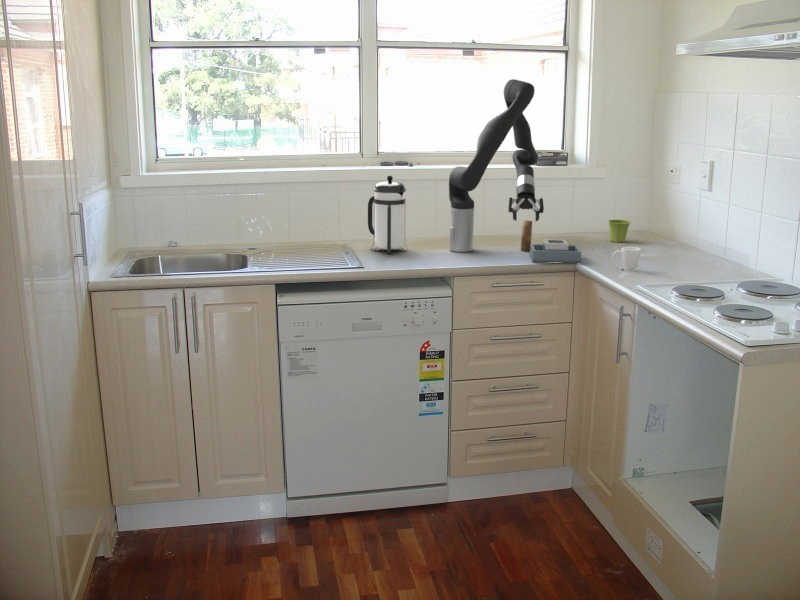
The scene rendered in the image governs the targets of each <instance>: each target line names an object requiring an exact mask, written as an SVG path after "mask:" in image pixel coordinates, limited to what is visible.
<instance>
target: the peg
mask: <svg viewBox="0 0 800 600" xmlns="http://www.w3.org/2000/svg"><path fill="white" fill-rule="evenodd" d="M532 234H533V221H532V220H522V221H521V237H520V238H521V239H520V251H521V252H525V253H526V252H527V253H528V252H529V253H530V244H532Z"/></svg>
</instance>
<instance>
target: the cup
mask: <svg viewBox="0 0 800 600" xmlns="http://www.w3.org/2000/svg"><path fill="white" fill-rule="evenodd" d="M618 252H619V253H621V263H622V266H623V268H621V267H620V266H619V265H617V264H616V263H615V262H614V259H613V258H614V255H615V254H616V253H618ZM641 253H642V248H640V247H636V246H623V247H621V250H620V249H617V250H616V251H614V252H613V253H612V255H611V256H612V257H611V262H612V264H613V265H614V266H615V267H616V268H618V269H620V270H621V269H624V270H623V271H625V270H628V271H627V272H636V271H637V269H636V268H637V266H638V264H639V261H640V256H641ZM635 270H636V271H635Z"/></svg>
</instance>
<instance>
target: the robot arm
mask: <svg viewBox="0 0 800 600" xmlns="http://www.w3.org/2000/svg"><path fill="white" fill-rule="evenodd" d="M535 91H536V90H535V86H534V85H533V84H532V83H530V82H527V81H524V80H519V79H514V78H513V79H510V80H508V81H507V82H506V83H505V85H504V87H503V98H504V102H505V105H506V108H507V109H506V110H505V111H503V112H502V113H500V114H498V115H496V116H495V117H493V118H492V119H490V120H489V121H488V122H487V123H486V125H485V126H484V128H483V129H482V131H481V132H480V134H479V136H478V138H477V145H476V152H475V155H474V157H473V159H472V160H471V162H470V163H469V164H468V166H467V167H466V166H456V167H454V168H452V170H451V171H450V174H449V177H448V199H449V201H450V228H449V229H450V230H449V251H450V252H457V253H458V252H459V253H465V252H466V253H467V252H472V251H473V249H474V224H475V223H474V222H475V221H474V220H475V219H474V218H475V201H474V200H473V199H472V197H471V196H470V194H469V192H472V191H474V190H475V189H476V188H477V187H478V186H479V184H480V182H481V180H482V178H483V176H484V174H485V172H486V170H487V168H488V166H489V164H490V163H491V161H492V160H493V157H494V156H495V154H496V152H497V151H498V149H500V148H501V145H502V144H503V142H504V141H505V139H506V137H507V136H508V134H509V132H510V131H511V129H512V130H513V139H514V145H515V147H516V148H518V149H516V150H515V151H514V152H513V154H512V156H511V157H512V158H511V159H512V161H513V164H514V167H515V169H516V187H515V189H516V198H513V197H509V199H508V213H512V220H513V221H515V222H517V218H518V216H517V214H518V213H517V212H519V211H520V210H531V211H532V212H534V215H535V217H534V218H535V222H538V221H539V220H540V214H543V213H544V210H545V209H544V199H543V197H540V198H539V199H537V198H536V191H535V190H536V188H535V186H536V184H535V176H534V174H535V172H534V168H533V166H534V165H536V164H537V163H538V160H539V158H538V157H539V155H538V152H537V151H536V149H535V146H534V144H533V140H532V131H531V126H530V124H529V122H528V120H527V118H526V116H525V115H524V111H525V110H526V109H527V107H529V105H530V104H531V102H532V100H533V98H534V96H535ZM514 204H516V205H515V206H514V207H513V205H514ZM537 205H538V206H539V207H538V206H537Z"/></svg>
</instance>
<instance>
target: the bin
mask: <svg viewBox="0 0 800 600" xmlns="http://www.w3.org/2000/svg"><path fill="white" fill-rule="evenodd" d="M529 256H530V260H531V263H532V262H562V263H561V264H568V263H571V264H570V265H572V264H573V265H577V263H581V261H582V251H581V249H580V247H579V246H578V245H576V244H568V251H543V243H541V244H538V243H537V244H536V243H534V244H533V243H531V244H530V251H529ZM581 264H582V263H581Z"/></svg>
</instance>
